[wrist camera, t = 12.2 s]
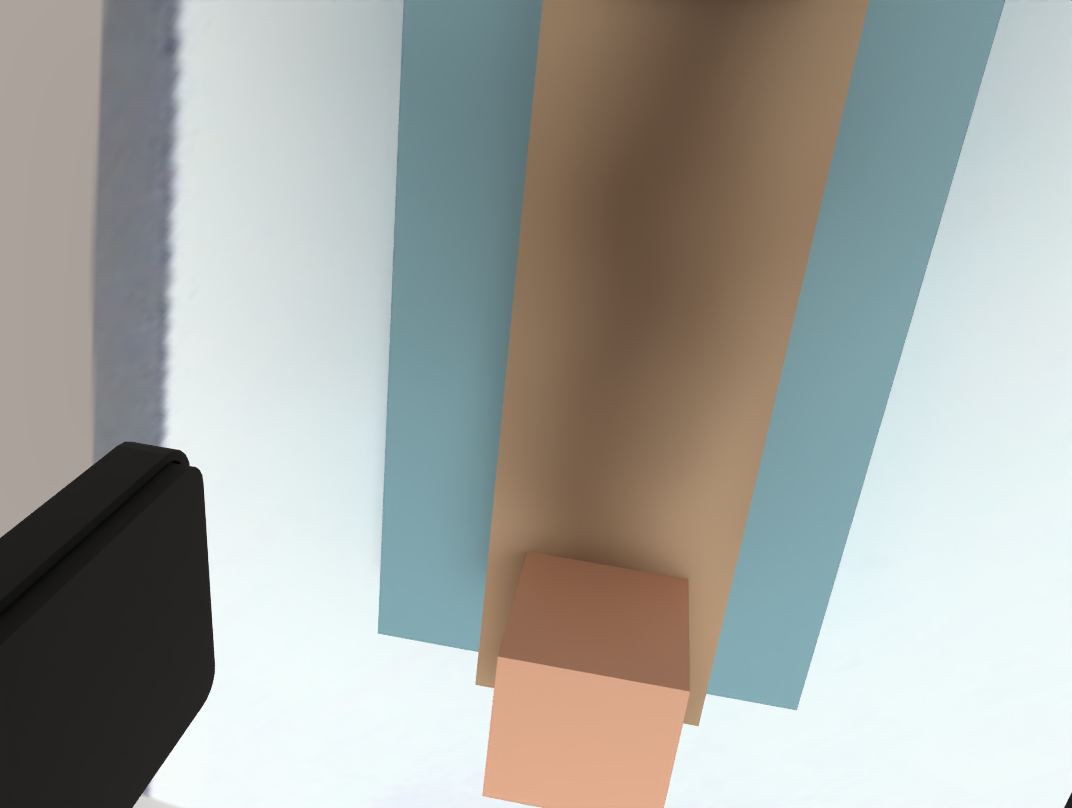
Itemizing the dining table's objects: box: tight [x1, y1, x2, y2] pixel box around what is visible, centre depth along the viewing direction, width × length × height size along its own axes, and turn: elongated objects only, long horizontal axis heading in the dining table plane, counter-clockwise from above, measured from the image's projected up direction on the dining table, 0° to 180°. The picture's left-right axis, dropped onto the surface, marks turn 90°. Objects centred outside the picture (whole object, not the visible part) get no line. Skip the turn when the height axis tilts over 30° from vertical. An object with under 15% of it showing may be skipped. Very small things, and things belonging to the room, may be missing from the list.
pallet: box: [476, 0, 869, 726], centre depth 22 cm, size 6×22×5 cm, turn 174°
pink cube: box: [483, 551, 690, 808], centre depth 21 cm, size 4×4×4 cm
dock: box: [378, 0, 1005, 710], centre depth 26 cm, size 14×28×4 cm, turn 174°
